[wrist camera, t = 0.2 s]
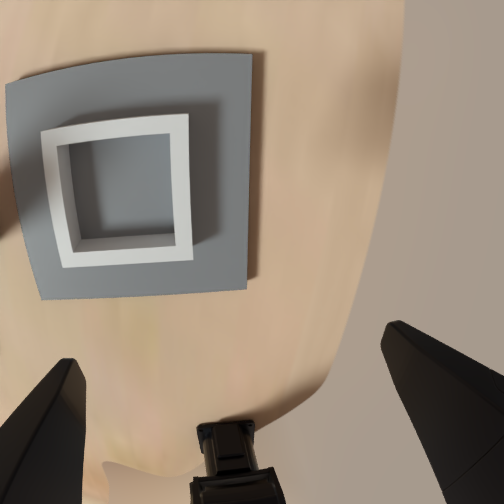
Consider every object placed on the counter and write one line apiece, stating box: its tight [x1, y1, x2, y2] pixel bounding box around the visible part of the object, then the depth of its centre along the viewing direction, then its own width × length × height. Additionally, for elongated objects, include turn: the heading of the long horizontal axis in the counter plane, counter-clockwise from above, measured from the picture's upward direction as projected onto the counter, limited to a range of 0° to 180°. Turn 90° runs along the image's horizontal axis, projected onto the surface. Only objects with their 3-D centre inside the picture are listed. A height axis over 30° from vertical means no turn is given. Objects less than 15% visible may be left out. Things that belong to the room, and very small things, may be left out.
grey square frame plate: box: [5, 53, 252, 300], centre depth 18 cm, size 16×16×3 cm
